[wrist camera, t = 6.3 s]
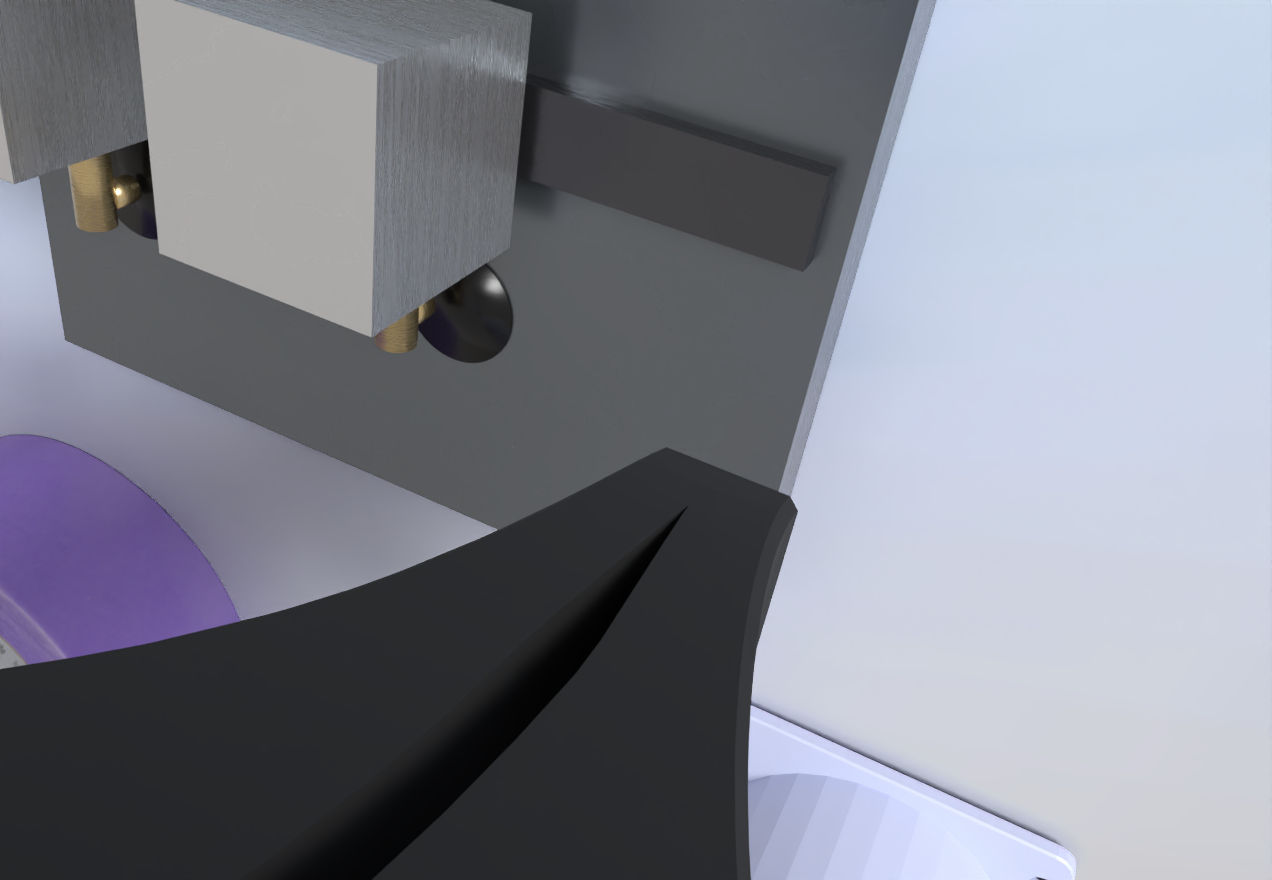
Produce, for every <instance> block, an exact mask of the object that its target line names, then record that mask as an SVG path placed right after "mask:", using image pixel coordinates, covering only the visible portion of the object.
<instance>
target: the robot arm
mask: <svg viewBox="0 0 1272 880" xmlns="http://www.w3.org/2000/svg"><path fill="white" fill-rule="evenodd" d="M797 512H798V510H797V509H796V507H795V505H794V503H793V501H792V499H791V497H790V496H789V495H786V494H784V493H781V492H779V491H776V490H773V489H771V488H768V487H766V486H763V485H761V484H758V483H756V482H753V481H751V480H748V479H746V478H743V477H741V476H738V475H736V474H733V473H730V472H728V471H725V470H723V469H720V468H718V467H715V466H713V465H710V464H708V463H705V462H703V461H700V460H698V459H695V458H693V457H690V456H688V455H685V454H682V453H680V452H677V451H675V450H672V449H670V448H667V447H666V448H663V449H661V450H659V451H656V452H654V453H652V454H650V455H648V456H646V457H644V458H642V459H640V460H638V461H636V462H634V463H632V464H630V465H628V466H626V467H624V468H623V469H621V470H619V471H617V472H615V473H613V474H611V475H609V476H607V477H605V478H603V479H601V480H599V481H598V482H596V483H594V484H592V485H590V486H588V487H586V488H584V489H582V490H580V491H578V492H576V493H574V494H572V495H570V496H568V497H566V498H564V499H562V500H560V501H558V502H556V503H554V504H552V505H550V506H548V507H546V508H544V509H542V510H540V511H537V512H535V513H533V514H531V515H529V516H527V517H525V518H523V519H521V520H519V521H516V522H514V523H512V524H510V525H508V526H506V527H504V528H502V529H500V530H497V531H495V532H493V533H491V534H489V535H487V536H484V537H482V538H480V539H478V540H475V541H473V542H470V543H468V544H466V545H463V546H461V547H458V548H456V549H454V550H451V551H449V552H446V553H444V554H441V555H439V556H437V557H434V558H432V559H429V560H427V561H424V562H422V563H420V564H417V565H415V566H412V567H410V568H408V569H405V570H403V571H400V572H397V573H395V574H392V575H389V576H387V577H384V578H381V579H378V580H376V581H373V582H370V583H367V584H365V585H362V586H359V587H356V588H353V589H350V590H347V591H344V592H341V593H338V594H334V595H331V596H328V597H325V598H322V599H318V600H315V601H312V602H309V603H305V604H302V605H299V606H296V607H293V608H289V609H286V610H282V611H279V612H275V613H271V614H268V615H264V616H260V617H256V618H251V619H247V620H243V621H239V622H235V623H231V624H227V625H222V626H218V627H214V628H210V629H206V630H202V631H197V632H193V633H189V634H185V635H181V636H177V637H173V638H168V639H164V640H160V641H156V642H152V643H147V644H142V645H137V646H132V647H127V648H121V649H116V650H111V651H105V652H100V653H94V654H89V655H84V656H78V657H73V658H67V659H60V660H54V661H48V662H41V663H35V664H29V665H22V666H16V667H10V668H3V669H0V880H1039V879H1037V878H1036V877H1040V878H1043V879H1046V880H1074V878H1075V873H1076V866H1077V864H1076V861H1075V857H1074V856H1073V855H1072V854H1071V853H1070V852H1069V851H1068V850H1067V849H1065V848H1063V847H1062V846H1060V845H1058V844H1056V843H1054V842H1052V841H1049V840H1047V839H1045V838H1043V837H1041V836H1038V835H1036V834H1034V833H1032V832H1030V831H1027V830H1025V829H1023V828H1021V827H1019V826H1016V825H1014V824H1012V823H1010V822H1008V821H1005V820H1003V819H1001V818H999V817H997V816H994V815H992V814H990V813H988V812H986V811H983V810H981V809H979V808H977V807H975V806H972V805H970V804H968V803H966V802H963V801H961V800H959V799H957V798H955V797H952V796H950V795H948V794H946V793H944V792H941V791H939V790H937V789H935V788H933V787H930V786H928V785H926V784H924V783H922V782H919V781H917V780H915V779H913V778H911V777H908V776H906V775H904V774H902V773H900V772H897V771H895V770H893V769H891V768H889V767H886V766H884V765H882V764H880V763H878V762H875V761H873V760H871V759H869V758H867V757H864V756H862V755H860V754H858V753H856V752H853V751H851V750H849V749H847V748H845V747H842V746H840V745H838V744H836V743H834V742H831V741H829V740H827V739H825V738H823V737H820V736H818V735H816V734H814V733H812V732H809V731H807V730H805V729H803V728H801V727H798V726H796V725H794V724H792V723H790V722H787V721H785V720H783V719H781V718H779V717H776V716H774V715H772V714H770V713H768V712H765V711H763V710H761V709H759V708H757V707H754V706H752V705H751V694H752V683H753V672H754V662H755V655H756V648H757V645H758V641H759V638H760V635H761V631H762V628H763V625H764V621H765V618H766V615H767V612H768V608H769V605H770V602H771V598H772V595H773V592H774V588H775V585H776V582H777V579H778V575H779V572H780V569H781V565H782V562H783V559H784V555H785V552H786V549H787V545H788V542H789V539H790V536H791V532H792V529H793V526H794V522H795V519H796V516H797Z"/></svg>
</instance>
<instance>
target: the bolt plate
mask: <svg viewBox="0 0 1272 880" xmlns="http://www.w3.org/2000/svg"><path fill="white" fill-rule="evenodd" d="M489 1H492V2H496V3H499V4H503V5H506V6H509V7H513V8H516V9H520V10H523V11H527V12H530V13H532V22H531V32H530V42H529V53H528V63H527V73H526V84H525V94H524V104H523V114H522V125H521V135H520V145H519V156H518V166H517V176H516V187H515V197H514V207H513V217H512V228H511V238H510V248H509V249H507V250H506V251H504V252H503V253H501V254H499V255H498V256H496V257H495V258H493V259H492V260H490V261H489V262H487V263H486V264H484V265H482V266H481V267H479V268H478V269H476V270H475V271H473V272H472V273H470V274H469V275H467V276H465V277H464V278H462V279H461V280H459V281H458V282H456V283H455V284H453V285H452V286H450V287H449V288H447V289H445V290H444V291H442V292H441V293H439V294H438V295H436V296H435V297H433V298H434V300H435V303H436V310H435V312H434V314H433V315H432V316H430V317H429V318H427V319H426V320H424V321H423V322H421V323H420V324H418V344H417V346H416V348H415V349H413V350H411V351H409V352H405V353H391V352H386V351H384V350H381V349H380V348H378V347H377V346H376V345H375V342H374V341H375V335H374V336H373V337H369V336H366V335H364V334H361V333H359V332H356V331H354V330H351V329H349V328H346V327H344V326H341V325H339V324H336V323H334V322H331V321H329V320H326V319H324V318H321V317H319V316H316V315H314V314H311V313H309V312H306V311H304V310H301V309H299V308H296V307H294V306H291V305H289V304H286V303H283V302H281V301H278V300H276V299H273V298H271V297H268V296H266V295H263V294H261V293H258V292H256V291H253V290H251V289H248V288H246V287H243V286H241V285H238V284H236V283H233V282H231V281H228V280H226V279H223V278H221V277H218V276H216V275H213V274H211V273H208V272H205V271H203V270H200V269H198V268H195V267H193V266H190V265H188V264H185V263H183V262H180V261H178V260H175V259H173V258H170V257H168V256H165V255H163V254H160V253H159V245H158V234H157V224H156V214H155V204H154V194H153V184H152V174H151V163H150V153H149V143H148V133H147V123H146V113H145V102H144V92H143V82H142V72H141V62H140V52H139V41H138V31H137V21H136V11H135V1H134V0H0V179H2V180H5V181H8V182H10V183H13V184H15V183H18V182H21V181H24V180H27V179H30V178H33V177H36V176H39V178H40V184H41V190H42V196H43V203H44V209H45V215H46V222H47V228H48V234H49V241H50V247H51V253H52V259H53V266H54V272H55V278H56V285H57V291H58V297H59V304H60V310H61V316H62V322H63V329H64V335H65V340H66V341H68V342H71V343H73V344H75V345H78V346H80V347H82V348H84V349H87V350H89V351H91V352H94V353H96V354H98V355H100V356H103V357H105V358H107V359H110V360H112V361H114V362H116V363H119V364H121V365H123V366H126V367H128V368H130V369H133V370H135V371H137V372H139V373H142V374H144V375H146V376H149V377H151V378H153V379H155V380H158V381H160V382H162V383H165V384H167V385H169V386H171V387H174V388H176V389H178V390H181V391H183V392H185V393H187V394H190V395H192V396H194V397H197V398H199V399H201V400H203V401H206V402H208V403H210V404H213V405H215V406H217V407H219V408H222V409H224V410H226V411H229V412H231V413H233V414H235V415H238V416H240V417H242V418H245V419H247V420H249V421H251V422H254V423H256V424H258V425H261V426H263V427H265V428H267V429H270V430H272V431H274V432H277V433H279V434H281V435H283V436H286V437H288V438H290V439H293V440H295V441H297V442H299V443H302V444H304V445H306V446H309V447H311V448H313V449H315V450H318V451H320V452H322V453H325V454H327V455H329V456H331V457H334V458H336V459H338V460H341V461H343V462H345V463H347V464H350V465H352V466H354V467H357V468H359V469H361V470H363V471H366V472H368V473H370V474H373V475H375V476H377V477H380V478H382V479H384V480H386V481H389V482H391V483H393V484H396V485H398V486H400V487H402V488H405V489H407V490H409V491H412V492H414V493H416V494H418V495H421V496H423V497H425V498H428V499H430V500H432V501H434V502H437V503H439V504H441V505H444V506H446V507H448V508H450V509H453V510H455V511H457V512H460V513H462V514H464V515H466V516H469V517H471V518H473V519H476V520H478V521H480V522H482V523H485V524H487V525H489V526H492V527H494V528H496V529H498V530H500V529H502V528H504V527H506V526H508V525H510V524H512V523H514V522H516V521H519V520H521V519H523V518H525V517H527V516H529V515H531V514H533V513H535V512H537V511H540V510H542V509H544V508H546V507H548V506H550V505H552V504H554V503H556V502H558V501H560V500H562V499H564V498H566V497H568V496H570V495H572V494H574V493H576V492H578V491H580V490H582V489H584V488H586V487H588V486H590V485H592V484H594V483H596V482H598V481H599V480H601V479H603V478H605V477H607V476H609V475H611V474H613V473H615V472H617V471H619V470H621V469H623V468H624V467H626V466H628V465H630V464H632V463H634V462H636V461H638V460H640V459H642V458H644V457H646V456H648V455H650V454H652V453H654V452H656V451H659V450H661V449H663V448H666V447H667V448H670V449H672V450H675V451H677V452H680V453H682V454H685V455H688V456H690V457H693V458H695V459H698V460H700V461H703V462H705V463H708V464H710V465H713V466H715V467H718V468H720V469H723V470H725V471H728V472H730V473H733V474H736V475H738V476H741V477H743V478H746V479H748V480H751V481H753V482H756V483H758V484H761V485H763V486H766V487H768V488H771V489H773V490H776V491H779V492H781V493H784V494H786V495H789V496H791V492H792V489H793V486H794V482H795V479H796V475H797V472H798V469H799V465H800V462H801V458H802V455H803V452H804V448H805V445H806V441H807V438H808V435H809V431H810V428H811V424H812V421H813V418H814V414H815V411H816V407H817V404H818V401H819V397H820V394H821V390H822V387H823V384H824V380H825V377H826V373H827V370H828V367H829V363H830V360H831V357H832V353H833V350H834V346H835V343H836V340H837V336H838V333H839V329H840V326H841V323H842V319H843V316H844V312H845V309H846V306H847V302H848V299H849V295H850V292H851V289H852V285H853V282H854V278H855V275H856V272H857V268H858V265H859V261H860V258H861V255H862V251H863V248H864V244H865V241H866V238H867V234H868V231H869V227H870V224H871V221H872V217H873V214H874V210H875V207H876V204H877V200H878V197H879V193H880V190H881V187H882V183H883V180H884V176H885V173H886V170H887V166H888V163H889V160H890V156H891V153H892V149H893V146H894V143H895V139H896V136H897V132H898V129H899V126H900V122H901V119H902V115H903V112H904V109H905V105H906V102H907V98H908V95H909V92H910V88H911V85H912V81H913V78H914V75H915V71H916V68H917V64H918V61H919V58H920V54H921V51H922V47H923V44H924V41H925V37H926V34H927V30H928V27H929V24H930V20H931V17H932V13H933V10H934V7H935V3H936V0H489Z"/></svg>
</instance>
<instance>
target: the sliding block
mask: <svg viewBox="0 0 1272 880" xmlns="http://www.w3.org/2000/svg"><path fill="white" fill-rule="evenodd" d="M134 1H135V11H136V21H137V31H138V41H139V52H140V62H141V72H142V82H143V92H144V102H145V113H146V123H147V133H148V143H149V153H150V163H151V174H152V184H153V194H154V204H155V214H156V224H157V234H158V245H159V253H160V254H163V255H165V256H168V257H170V258H173V259H175V260H178V261H180V262H183V263H185V264H188V265H190V266H193V267H195V268H198V269H200V270H203V271H205V272H208V273H211V274H213V275H216V276H218V277H221V278H223V279H226V280H228V281H231V282H233V283H236V284H238V285H241V286H243V287H246V288H248V289H251V290H253V291H256V292H258V293H261V294H263V295H266V296H268V297H271V298H273V299H276V300H278V301H281V302H283V303H286V304H289V305H291V306H294V307H296V308H299V309H301V310H304V311H306V312H309V313H311V314H314V315H316V316H319V317H321V318H324V319H326V320H329V321H331V322H334V323H336V324H339V325H341V326H344V327H346V328H349V329H351V330H354V331H356V332H359V333H361V334H364V335H366V336H369V337H373V336H374V335H375V341H374V342H375V345H376V346H377V347H378V348H380V349H381V350H384V351H386V352H391V353H405V352H409V351H411V350H413V349H415V348H416V346H417V344H418V324H420V323H421V322H423V321H424V320H426V319H427V318H429V317H430V316H432V315H433V314H434V312H435V310H436V303H435V300H434V298H433V297H435V296H436V295H438V294H439V293H441V292H442V291H444V290H445V289H447V288H449V287H450V286H452V285H453V284H455V283H456V282H458V281H459V280H461V279H462V278H464V277H465V276H467V275H469V274H470V273H472V272H473V271H475V270H476V269H478V268H479V267H481V266H482V265H484V264H486V263H487V262H489V261H490V260H492V259H493V258H495V257H496V256H498V255H499V254H501V253H503V252H504V251H506V250H507V249H509V248H510V238H511V228H512V217H513V207H514V197H515V187H516V176H517V166H518V156H519V145H520V135H521V125H522V114H523V104H524V94H525V84H526V73H527V63H528V53H529V42H530V32H531V22H532V13H530V12H527V11H523V10H520V9H516V8H513V7H509V6H506V5H503V4H499V3H496V2H492V1H489V0H134Z"/></svg>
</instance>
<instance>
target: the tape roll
mask: <svg viewBox="0 0 1272 880" xmlns="http://www.w3.org/2000/svg"><path fill="white" fill-rule="evenodd" d="M239 621H240V619H239V617H238V615H237V612H236V610H235V608H234V605H233V603H232V601H231V599H230V597H229V595H228V593H227V591H226V590H225V588H224V586H223V584H222V583H221V581H220V579H219V578H218V576H217V575H216V573H215V571H214V570H213V568H212V567H211V565H210V564H209V562H208V561H207V560H206V558H205V557H204V555H203V554H202V553H201V551H200V550H199V549H198V547H197V546H196V545H195V544H194V543H193V541H192V540H191V539H190V538H189V536H188V535H187V534H186V533H185V532H184V531H183V530H182V529H181V528H180V527H179V525H178V524H177V523H176V522H175V521H174V520H173V519H172V518H171V517H170V516H169V515H168V514H167V513H166V512H165V511H164V510H163V509H162V508H161V507H160V506H159V504H157V503H156V502H155V501H154V500H153V499H152V498H150V497H149V496H148V495H147V494H146V493H145V492H143V491H142V490H141V489H140V488H139V487H137V486H136V485H135V484H134V483H132V482H131V481H130V480H128V479H127V478H126V477H124V476H123V475H122V474H120V473H118V472H117V471H115V470H114V469H113V468H111V467H110V466H109V465H107V464H105V463H104V462H102V461H100V460H98V459H96V458H95V457H93V456H91V455H89V454H87V453H86V452H84V451H82V450H80V449H77V448H75V447H73V446H70V445H67V444H65V443H63V442H59V441H56V440H54V439H49V438H45V437H40V436H34V435H9V436H4V437H0V669H3V668H10V667H16V666H22V665H29V664H35V663H41V662H48V661H54V660H60V659H67V658H73V657H78V656H84V655H89V654H94V653H100V652H105V651H111V650H116V649H121V648H127V647H132V646H137V645H142V644H147V643H152V642H156V641H160V640H164V639H168V638H173V637H177V636H181V635H185V634H189V633H193V632H197V631H202V630H206V629H210V628H214V627H218V626H222V625H227V624H231V623H235V622H239Z"/></svg>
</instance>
